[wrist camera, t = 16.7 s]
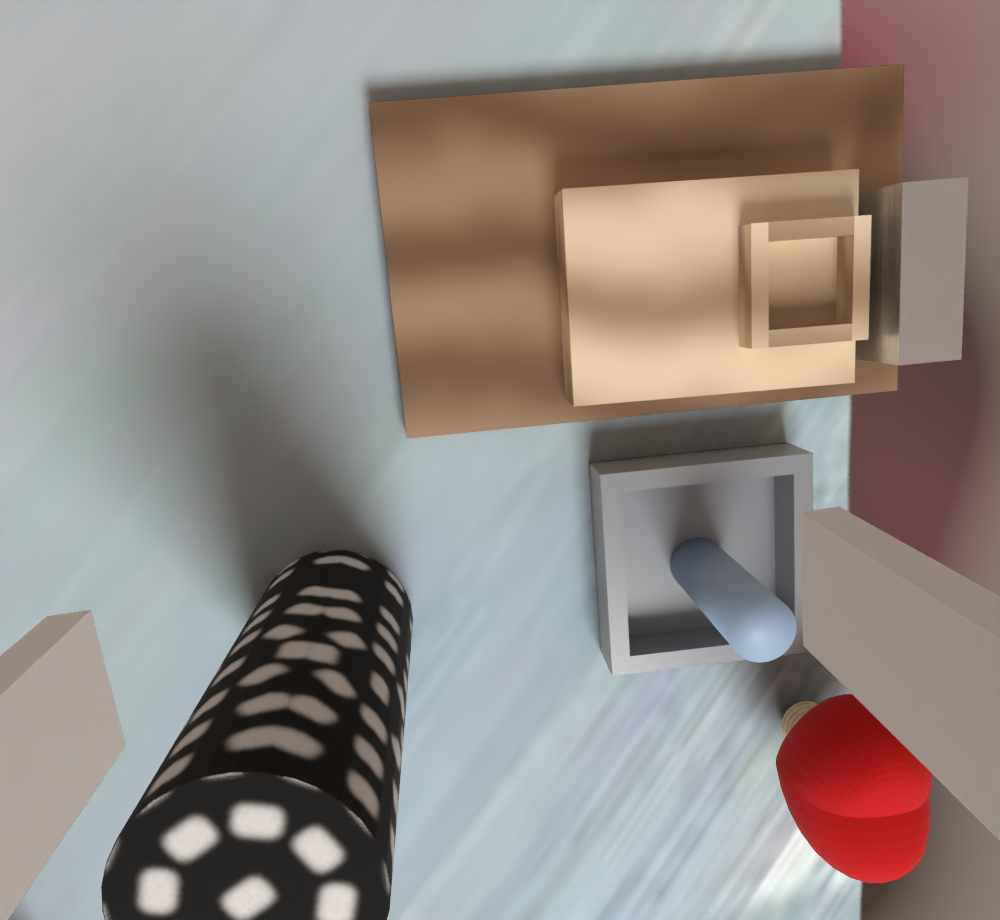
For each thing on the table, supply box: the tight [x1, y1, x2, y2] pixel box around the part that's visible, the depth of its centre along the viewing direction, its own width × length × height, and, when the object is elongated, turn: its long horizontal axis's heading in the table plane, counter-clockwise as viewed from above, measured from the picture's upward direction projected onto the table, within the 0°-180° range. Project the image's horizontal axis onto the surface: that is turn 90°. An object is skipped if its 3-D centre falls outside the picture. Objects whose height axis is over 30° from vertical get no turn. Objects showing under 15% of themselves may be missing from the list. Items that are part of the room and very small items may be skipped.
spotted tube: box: [101, 550, 413, 920], centre depth 32 cm, size 8×8×20 cm
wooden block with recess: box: [554, 169, 872, 407], centre depth 37 cm, size 10×14×4 cm
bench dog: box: [855, 177, 968, 365], centre depth 37 cm, size 8×3×5 cm, turn 5°
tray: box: [589, 443, 813, 676], centre depth 41 cm, size 11×11×3 cm
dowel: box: [670, 537, 797, 663], centre depth 38 cm, size 3×3×9 cm
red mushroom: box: [776, 694, 931, 883], centre depth 41 cm, size 9×7×10 cm
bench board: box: [369, 64, 904, 438], centre depth 39 cm, size 16×26×1 cm, turn 95°
